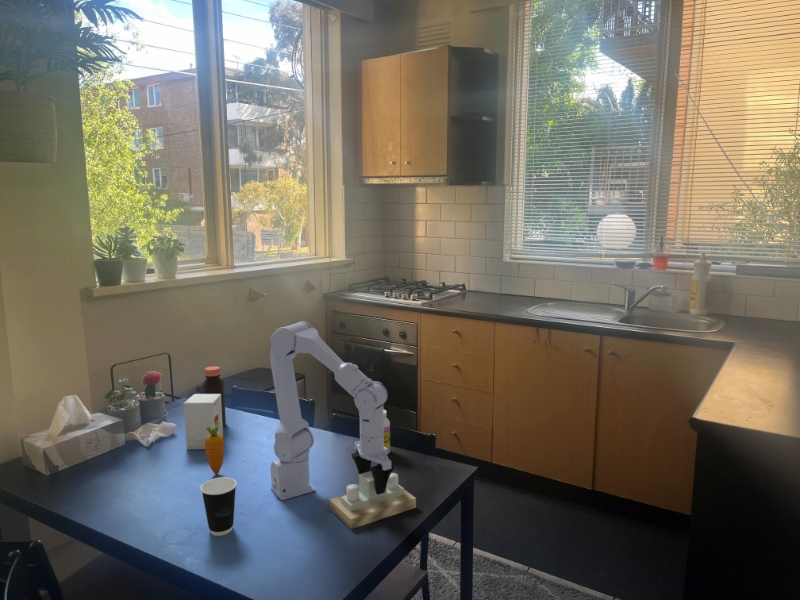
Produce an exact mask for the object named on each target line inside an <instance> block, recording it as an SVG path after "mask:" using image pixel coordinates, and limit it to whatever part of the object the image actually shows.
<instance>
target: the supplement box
mask: <svg viewBox="0 0 800 600" xmlns="http://www.w3.org/2000/svg"><path fill="white" fill-rule="evenodd" d="M183 413H184V427H185V428H184V429H185V445H186V446H185V447H186V450H206V446H205V440H206V438H207V436H209V435H211V434H210V433H209V431H208V430H207V429H206V426H207V425H208V426H209V427H210V429H211V431H212V428H213V429H214V428H215V426H216V421H218V422H219V427H218V431H217V434H220V435H222V436H223V437H224V426H223V423H222V405H221V394H203V393H194V394H192V395H191V396H190V397H189V398H188V399H187V400H186V401H184V402H183Z"/></svg>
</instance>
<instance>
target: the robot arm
mask: <svg viewBox="0 0 800 600" xmlns="http://www.w3.org/2000/svg"><path fill="white" fill-rule="evenodd" d="M269 339H270V343H271V347H270V351H269V360H270V361H269V362H270V367H271V373H272V374H271V375H272V381H273V386H274V391H275V392H274V393H275V399H276V404H277V410H278V411H277V412H278V417H279V425H278V427H277V428H276V431H274V432H275V433H274V445H273V450H274V451H273V452H274V454H275V456H276V458H277V459H276V460H274V461H272V462H271V463H270V479H271V481H270V482H271V486H270V489H271V490H272V492H273V493H274V494H275V495H276V496H277V497H278V498H279V499H280V501H283V500H287V499H292V498H295V497H298V496H301V495H305V494H309V493H312V492H315V491H316V487H314V486H313V485H312V484H311V481H310V460H309V459H310V455H309V454H310V452H311V451H310V449H312V447H313V445H314V441H315V439H314V435H313V432H312V431H311V429H310V426H309V425H310V424H309V422H308V421H306V420H305V419H303V417H302V411H301V406H300V398H299V393H298V387H297V381H296V376H295V375H296V374H295V368H294V362H293V360H294V358H295V357H296V356H297V355H298V354H311V356H312V357H314V358H315V359H317V360H318V361H319V362H320V363H321V364H322V365H324V366H325V367H327V369H329V370H330V371H331V372H333V374H334V380H335V382H337V384H338V385H340V387H341V388H343V389H344V390H345V391H346V392H347V393H348V394H349V395H350V396H352V397H353V400H354V405H355V406H356V408H357V410H358V415H359V440H357V441H354V442H353V443H354V445H353V447H354V450H355V452H353V453H352V454H350V455H351V458H352V460H353V461H354V463H355V466H356V469H357V473H358V475H359V474H362V473H365V472H369V471H371V473H372V475H373V478H374V484H375V491H376V494H377V495H379V494H382V493H385V490H386V486H387V482H388V479H389V477H390V475H391V473H393V472H394V470H395V465H393V464H392V460H391V459H390V458H389V457H388V454H386V452H387V451H388V448H386V447H385V446H384V413H383V409H384V404H385V403H386V402H387V400H388V390H387V389H386V387H385V386H384V385H383V383H382V382H380V381H374V380H373V379H371V378H369V377H368V376H367V375H365V374H364V373H363V372H362V371H361V370H360V369H359V366H358V365H357V364H355V363H352V362H344V360H342V359H341V357H339V356H338V355H337V354H336V353H335V351H333V349H332V348H331V347H330V346H329V345H328V344H327V342H325V341H324V340H323V339H322V337H320V335H319V332H318V330H317V329H316V328H314V327H313V326H312V324H311V323H309V322H308V321H306V320H301V321H299V322H296V323H293V324H290V325H286V326H284V327H283V326H282V327H278V328H277V329H276V330H275V331H274V332H273V333H272V334H271V335H270V338H269ZM372 462H374V463H376V464H377V465H374V466H371V465H372Z"/></svg>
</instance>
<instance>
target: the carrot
mask: <svg viewBox="0 0 800 600" xmlns="http://www.w3.org/2000/svg"><path fill="white" fill-rule="evenodd" d="M218 427H219V422H218V421H216V426H215V428H214V429H213V428H212V431H211V429H210V427H209V426H208V425H207V426H206V429H207V430H208V431H209V433H210V434H211V435H209V436H207V438H206V440H205V446H206V449H205V452H206V458H207V462H208V465H209V467H210V469H211V471H212V472H213V474H215V475H216V476H217V475H219V473H220V470H221V468H222V466H223V462H224V454H225V438H224V435H223V436H222V435H220V434H217V431H218Z"/></svg>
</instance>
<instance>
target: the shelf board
mask: <svg viewBox="0 0 800 600" xmlns="http://www.w3.org/2000/svg"><path fill="white" fill-rule="evenodd" d="M346 495H347V493H346V494H343V495H340V496H337V497H332V498H330V499H328V500H329V509H330V511H331V512H332V513H334V514H335V516H336V517H337V518H339V519H340V520H341V521H342V523H344V524H345V525H346V526H347V527H348V528H349V529H350V530H353V529H355V528H358V527H362V526H366V525H368V524H371V523H374V522H377V521H380V520H383V519H386V518H389V517H392V516H394V515H398V514H401V513H403V512H407V511H410V510H413V509H416V508H417V498H416V497H415V496H414V495H412V494H411V493H410V492H409V491H407V490H406V489H404V495H401V496H398V497H394V498H391V499H388V500H385V501H382V502H379V503H375V504H372V505H369V506H366V507H363V508H360V509H356V510H353V511H350V510H348V509H347V508H346V507H345V506H344V505H343V504H342V503H341V497H343V496H346Z"/></svg>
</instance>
